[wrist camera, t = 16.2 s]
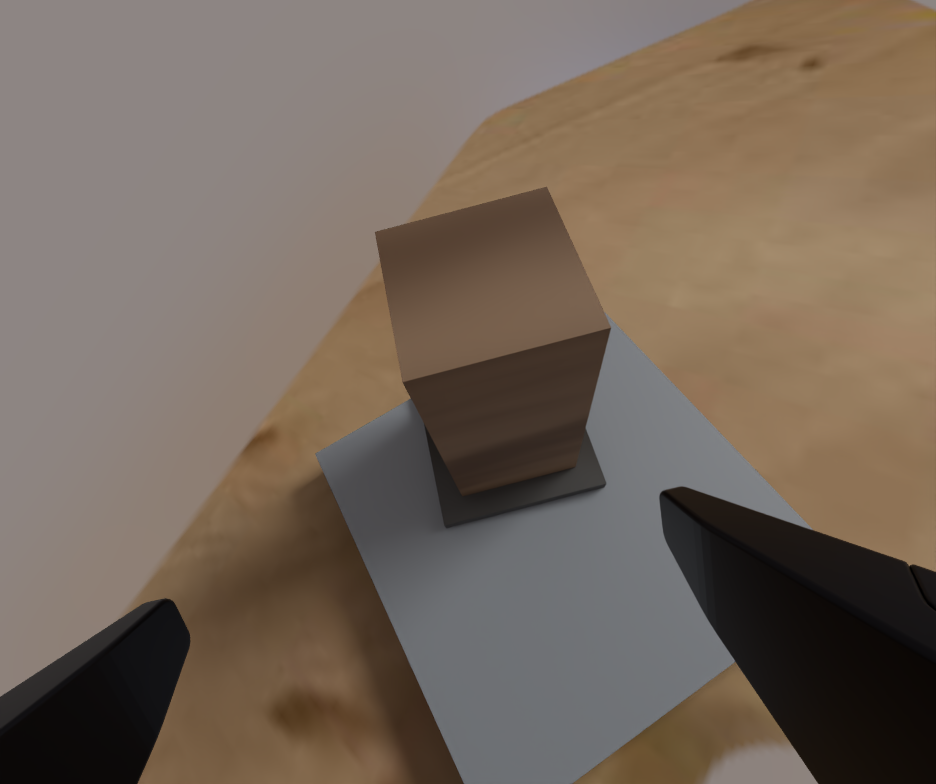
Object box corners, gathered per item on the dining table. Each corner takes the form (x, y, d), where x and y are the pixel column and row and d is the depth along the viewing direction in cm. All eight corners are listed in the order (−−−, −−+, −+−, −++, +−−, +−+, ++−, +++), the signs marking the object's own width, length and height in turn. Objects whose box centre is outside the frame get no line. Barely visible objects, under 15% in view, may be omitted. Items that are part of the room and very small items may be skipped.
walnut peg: (598, 498, 22) (671, 351, 10) (453, 536, 22) (365, 431, 10) (553, 373, 25) (569, 155, 14) (426, 405, 25) (337, 216, 14)
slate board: (824, 578, 19) (854, 572, 18) (495, 822, 17) (491, 844, 15) (585, 318, 27) (588, 295, 25) (331, 466, 24) (315, 453, 23)
